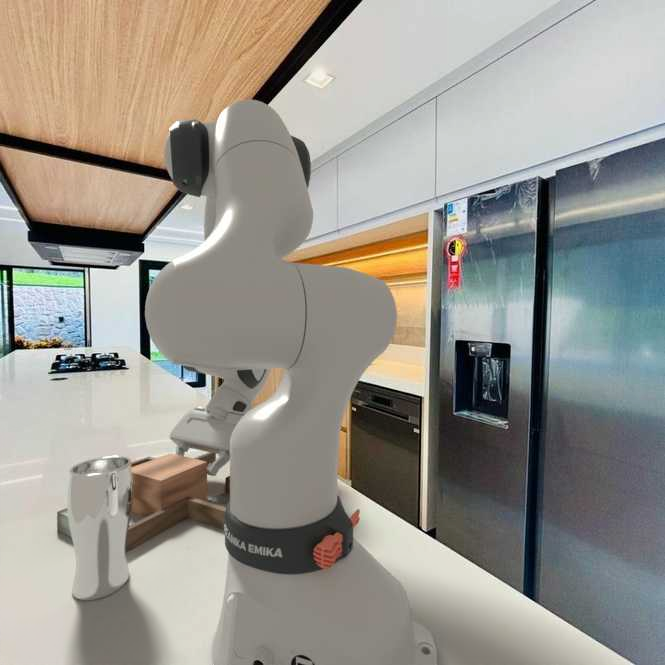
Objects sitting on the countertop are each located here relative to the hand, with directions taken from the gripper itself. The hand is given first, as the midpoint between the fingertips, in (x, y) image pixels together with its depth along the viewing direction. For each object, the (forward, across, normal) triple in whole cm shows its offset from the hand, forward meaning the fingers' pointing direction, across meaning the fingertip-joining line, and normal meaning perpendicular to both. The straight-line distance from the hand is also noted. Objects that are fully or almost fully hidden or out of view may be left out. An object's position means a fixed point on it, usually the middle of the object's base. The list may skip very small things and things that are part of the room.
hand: (192, 469), depth 73 cm
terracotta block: (+7, 0, -1) cm, 7 cm away
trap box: (+5, 0, +1) cm, 5 cm away
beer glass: (+20, +11, -14) cm, 27 cm away
